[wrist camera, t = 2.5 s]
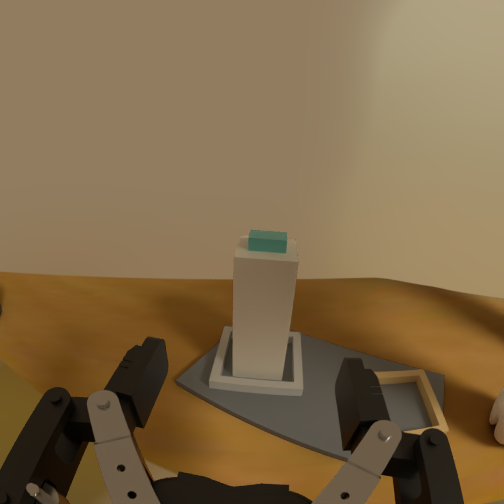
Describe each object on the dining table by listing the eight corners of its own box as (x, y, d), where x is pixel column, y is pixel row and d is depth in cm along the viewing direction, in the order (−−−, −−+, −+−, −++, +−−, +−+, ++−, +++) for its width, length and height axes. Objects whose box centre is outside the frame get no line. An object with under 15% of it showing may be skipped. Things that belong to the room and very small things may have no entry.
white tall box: (238, 345, 29) (242, 224, 24) (282, 349, 29) (296, 227, 24) (232, 376, 25) (233, 243, 20) (281, 380, 25) (299, 248, 20)
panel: (246, 317, 35) (246, 306, 34) (445, 379, 24) (451, 369, 23) (173, 382, 25) (171, 370, 24) (433, 481, 13) (443, 473, 13)
